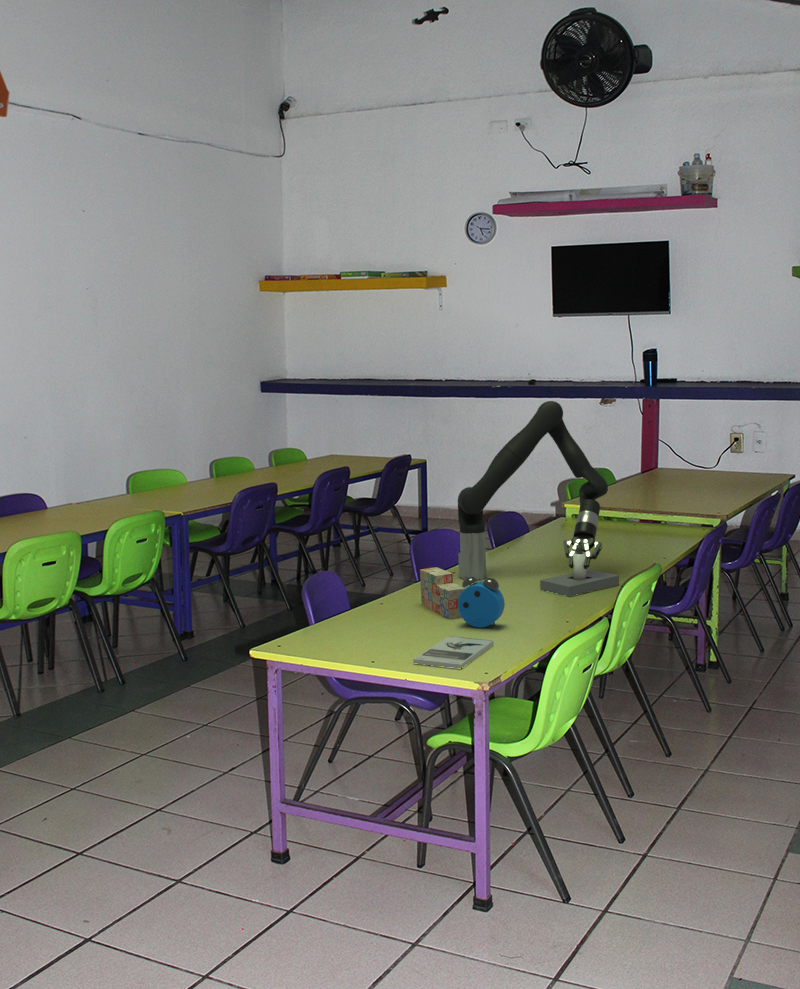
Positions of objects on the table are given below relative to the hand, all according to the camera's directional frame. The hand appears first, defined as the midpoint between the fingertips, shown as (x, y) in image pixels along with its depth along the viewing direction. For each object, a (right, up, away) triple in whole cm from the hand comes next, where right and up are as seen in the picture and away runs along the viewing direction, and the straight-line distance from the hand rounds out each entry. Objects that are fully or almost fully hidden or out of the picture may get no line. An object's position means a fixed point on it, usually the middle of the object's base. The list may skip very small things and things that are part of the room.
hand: (578, 567), depth 339 cm
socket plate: (+1, -7, +3) cm, 8 cm away
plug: (+1, -5, +3) cm, 6 cm away
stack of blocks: (-47, -13, -20) cm, 53 cm away
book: (-46, -20, -68) cm, 84 cm away
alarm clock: (-36, -15, -40) cm, 57 cm away
